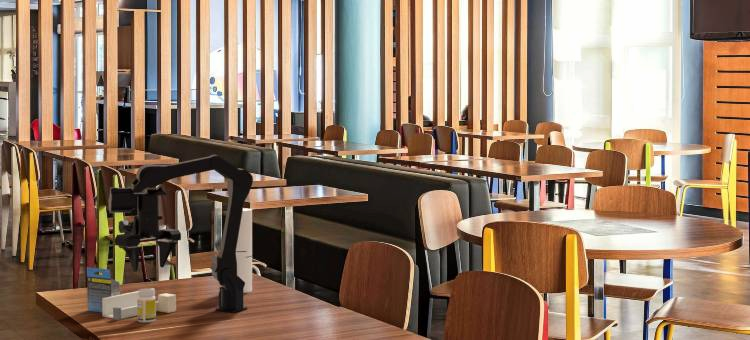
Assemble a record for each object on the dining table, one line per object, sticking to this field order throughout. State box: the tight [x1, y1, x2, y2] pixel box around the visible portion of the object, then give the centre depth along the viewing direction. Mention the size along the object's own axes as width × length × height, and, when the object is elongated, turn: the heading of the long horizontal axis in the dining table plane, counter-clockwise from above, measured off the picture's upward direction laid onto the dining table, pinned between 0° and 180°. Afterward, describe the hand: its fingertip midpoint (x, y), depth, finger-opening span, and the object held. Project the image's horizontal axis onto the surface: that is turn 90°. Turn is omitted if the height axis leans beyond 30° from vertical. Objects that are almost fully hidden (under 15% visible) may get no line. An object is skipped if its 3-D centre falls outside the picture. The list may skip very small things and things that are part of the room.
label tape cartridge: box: [86, 266, 121, 313], centre depth 291 cm, size 9×4×12 cm, turn 62°
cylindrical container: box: [236, 207, 253, 294], centre depth 322 cm, size 7×7×25 cm
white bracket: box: [101, 287, 177, 321], centre depth 289 cm, size 10×19×5 cm, turn 145°
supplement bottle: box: [137, 287, 157, 324], centre depth 280 cm, size 5×5×8 cm
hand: (148, 269), depth 286 cm, fingers open, 9 cm apart
